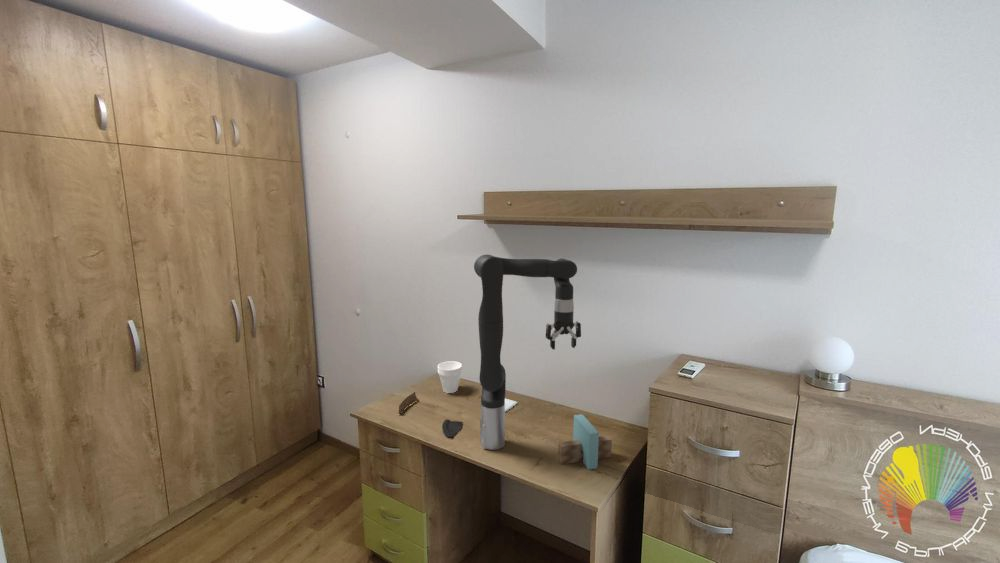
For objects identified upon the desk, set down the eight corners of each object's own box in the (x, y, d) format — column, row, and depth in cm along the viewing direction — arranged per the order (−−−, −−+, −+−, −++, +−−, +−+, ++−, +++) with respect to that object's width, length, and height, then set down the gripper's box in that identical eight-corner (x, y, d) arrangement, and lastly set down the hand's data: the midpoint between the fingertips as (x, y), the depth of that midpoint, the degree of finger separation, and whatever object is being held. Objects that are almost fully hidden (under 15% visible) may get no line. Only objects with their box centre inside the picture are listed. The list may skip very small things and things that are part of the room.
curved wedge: (437, 439, 181) (437, 435, 180) (444, 422, 194) (444, 419, 193) (457, 440, 180) (457, 436, 179) (463, 423, 193) (463, 420, 193)
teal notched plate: (597, 468, 160) (598, 432, 157) (588, 469, 159) (589, 433, 156) (581, 447, 173) (582, 414, 170) (572, 448, 172) (573, 415, 170)
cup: (454, 384, 233) (453, 359, 230) (467, 391, 223) (466, 366, 221) (433, 390, 225) (432, 364, 223) (446, 398, 216) (445, 372, 213)
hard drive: (502, 412, 200) (517, 401, 210) (488, 407, 204) (503, 397, 214) (502, 415, 200) (517, 404, 210) (488, 410, 205) (503, 400, 215)
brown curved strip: (401, 415, 199) (401, 405, 198) (397, 415, 200) (397, 404, 199) (418, 401, 213) (418, 391, 212) (415, 400, 214) (414, 390, 213)
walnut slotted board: (561, 464, 162) (561, 446, 161) (558, 459, 165) (558, 442, 164) (611, 456, 167) (611, 439, 166) (607, 452, 170) (608, 435, 168)
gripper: (576, 305, 182) (575, 343, 185) (543, 308, 179) (543, 346, 182) (584, 310, 174) (583, 349, 178) (550, 312, 171) (549, 352, 174)
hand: (563, 348), depth 180 cm, fingers open, 8 cm apart
